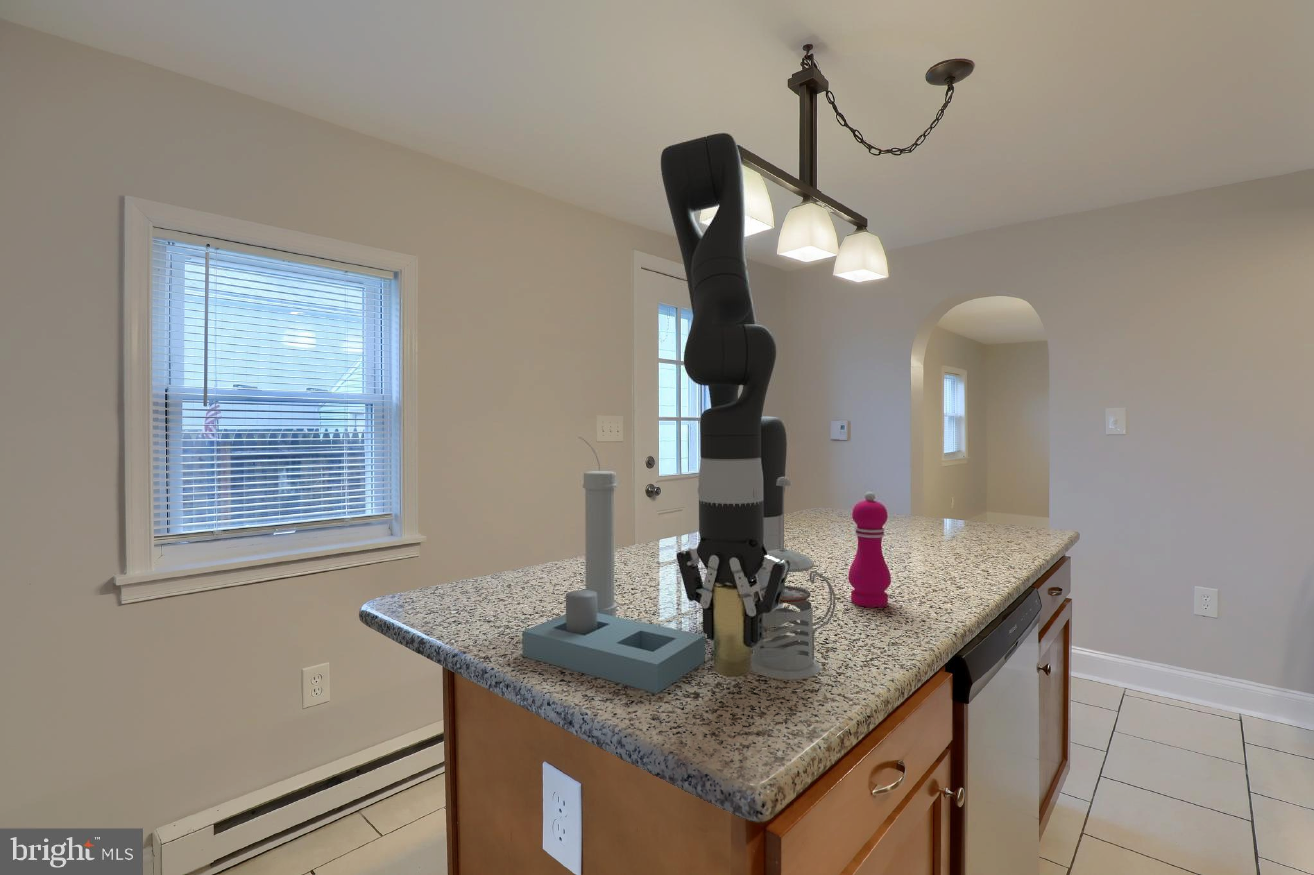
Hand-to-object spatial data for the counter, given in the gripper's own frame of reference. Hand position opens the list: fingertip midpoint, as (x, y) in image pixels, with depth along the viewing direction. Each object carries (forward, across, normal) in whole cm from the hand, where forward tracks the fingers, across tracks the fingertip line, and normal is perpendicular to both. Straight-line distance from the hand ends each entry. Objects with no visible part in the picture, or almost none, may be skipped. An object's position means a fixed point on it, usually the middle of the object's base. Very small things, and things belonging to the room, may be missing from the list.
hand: (732, 640), depth 71 cm
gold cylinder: (+3, 0, 0) cm, 3 cm away
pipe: (+7, +30, -14) cm, 34 cm away
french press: (+7, -3, -12) cm, 14 cm away
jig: (+6, +18, -2) cm, 20 cm away
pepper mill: (+7, -5, -47) cm, 48 cm away
